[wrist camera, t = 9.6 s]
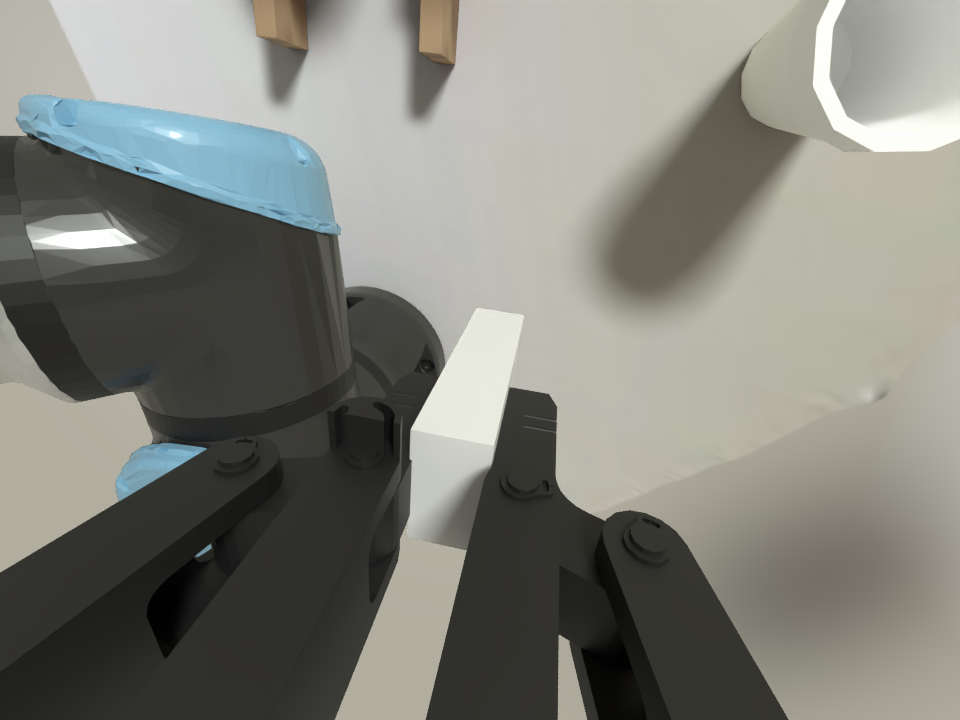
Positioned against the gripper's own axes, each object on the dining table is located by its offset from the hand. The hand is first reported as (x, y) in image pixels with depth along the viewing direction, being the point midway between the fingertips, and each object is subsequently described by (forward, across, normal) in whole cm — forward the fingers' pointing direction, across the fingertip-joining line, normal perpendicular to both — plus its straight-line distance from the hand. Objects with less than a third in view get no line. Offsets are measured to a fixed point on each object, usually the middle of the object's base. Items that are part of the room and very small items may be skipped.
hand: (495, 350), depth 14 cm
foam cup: (+25, -15, -12) cm, 31 cm away
